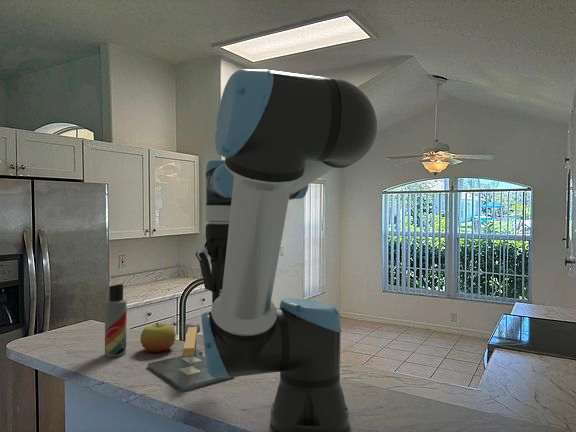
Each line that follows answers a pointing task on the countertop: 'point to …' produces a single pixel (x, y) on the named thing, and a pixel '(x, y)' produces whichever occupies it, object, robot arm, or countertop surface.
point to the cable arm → (191, 338)
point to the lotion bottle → (115, 322)
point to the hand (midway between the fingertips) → (220, 317)
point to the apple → (158, 337)
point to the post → (196, 351)
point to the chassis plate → (184, 371)
